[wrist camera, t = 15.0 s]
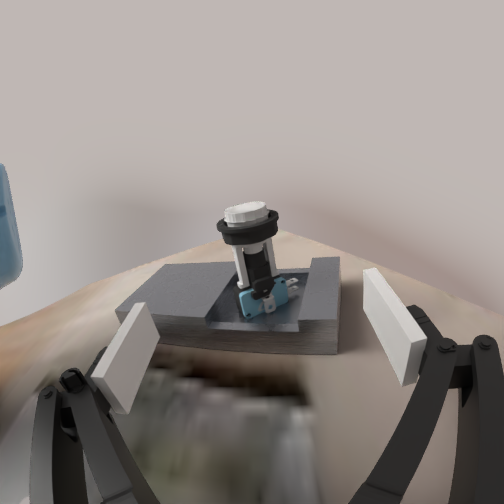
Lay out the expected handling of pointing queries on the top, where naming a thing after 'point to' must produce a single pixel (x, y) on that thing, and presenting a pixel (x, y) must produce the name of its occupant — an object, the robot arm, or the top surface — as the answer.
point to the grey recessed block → (229, 316)
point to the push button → (255, 258)
